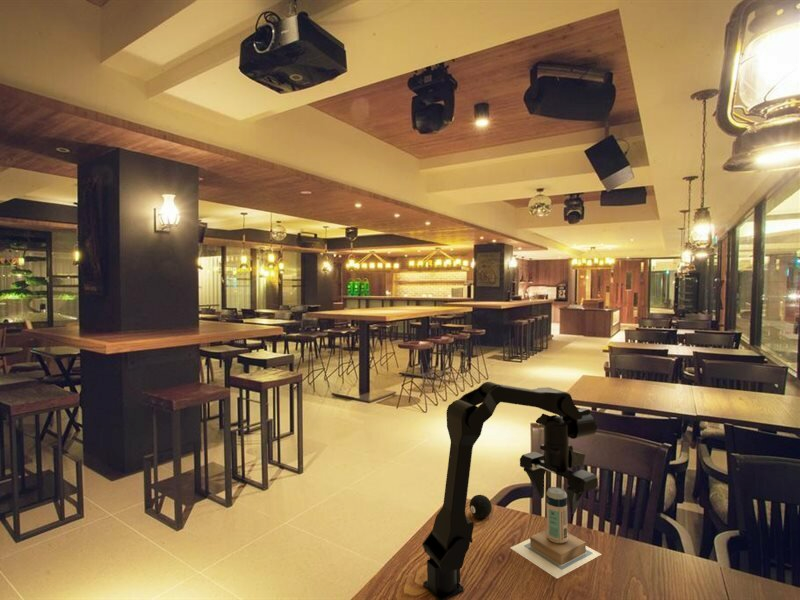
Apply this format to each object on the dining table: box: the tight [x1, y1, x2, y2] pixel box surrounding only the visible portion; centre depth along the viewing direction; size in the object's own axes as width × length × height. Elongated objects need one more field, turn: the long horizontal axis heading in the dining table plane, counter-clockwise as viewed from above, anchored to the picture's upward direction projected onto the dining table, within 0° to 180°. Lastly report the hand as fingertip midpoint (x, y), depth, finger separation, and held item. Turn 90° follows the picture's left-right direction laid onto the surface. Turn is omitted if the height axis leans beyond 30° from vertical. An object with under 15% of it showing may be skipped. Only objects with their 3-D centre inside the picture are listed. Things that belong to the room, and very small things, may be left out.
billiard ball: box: [468, 494, 493, 519], centre depth 125 cm, size 6×6×6 cm
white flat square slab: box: [509, 538, 602, 579], centre depth 107 cm, size 16×14×1 cm
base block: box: [529, 528, 587, 565], centre depth 108 cm, size 9×9×2 cm
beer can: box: [545, 486, 568, 544], centre depth 107 cm, size 5×5×12 cm
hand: (556, 505), depth 107 cm, fingers open, 9 cm apart
